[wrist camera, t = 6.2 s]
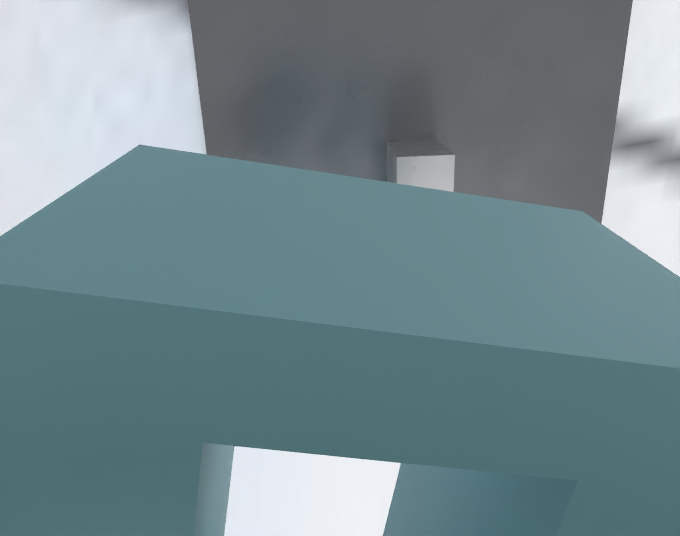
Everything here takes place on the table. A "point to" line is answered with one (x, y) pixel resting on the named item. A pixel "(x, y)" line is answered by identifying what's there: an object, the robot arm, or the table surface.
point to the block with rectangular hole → (331, 353)
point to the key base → (419, 91)
